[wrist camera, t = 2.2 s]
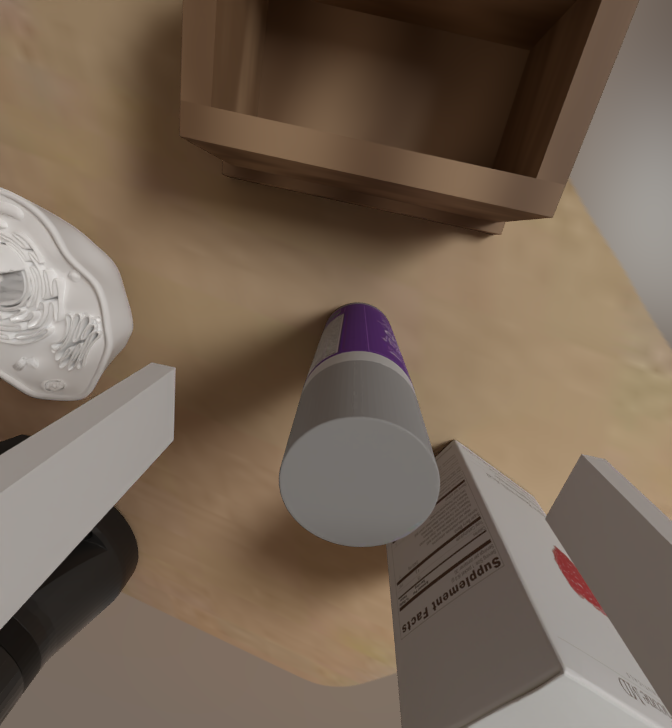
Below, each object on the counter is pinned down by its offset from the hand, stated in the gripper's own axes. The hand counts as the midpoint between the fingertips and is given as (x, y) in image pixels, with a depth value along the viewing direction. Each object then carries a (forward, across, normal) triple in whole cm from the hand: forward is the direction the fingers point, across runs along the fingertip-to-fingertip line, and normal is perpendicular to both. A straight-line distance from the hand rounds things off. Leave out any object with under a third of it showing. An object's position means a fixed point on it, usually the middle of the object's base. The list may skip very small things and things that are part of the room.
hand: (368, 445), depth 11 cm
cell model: (+13, -20, -1) cm, 24 cm away
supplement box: (+13, +10, -12) cm, 21 cm away
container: (+13, 0, 0) cm, 13 cm away
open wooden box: (+13, -2, +13) cm, 18 cm away
